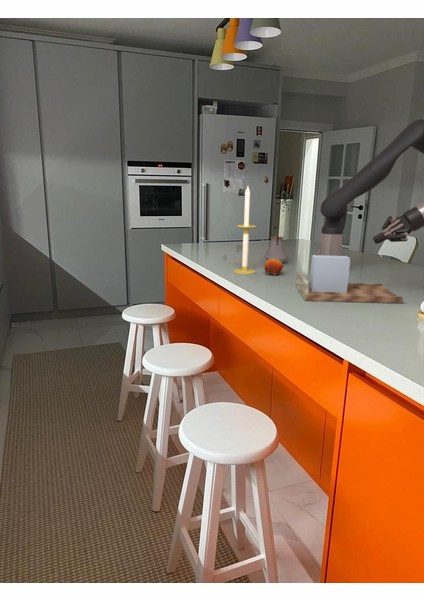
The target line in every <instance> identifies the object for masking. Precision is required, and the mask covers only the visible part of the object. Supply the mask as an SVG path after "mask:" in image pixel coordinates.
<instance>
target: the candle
mask: <svg viewBox="0 0 424 600" xmlns="http://www.w3.org/2000/svg"><path fill="white" fill-rule="evenodd" d="M244 192H245V193H244V210H243V211H244V212H243V213H244V216H243V217H244V218H243V224H238V225H237V224H236V227H237V228H243V230H242V231H243V233H242V255H241V256H242V257H241V268H238V269H237V268H236V269H234V270H233V271H232V272H233V273H235V274H238V275H252V274H256V271H255V270H254V269H250V268H249V267H248V265H249V264H248V263H249V241H250V240H249V239H250V228H254V229H255V228H256V227H257V226H256V225H253V224H250V210H251V209H250V206H251V205H250V204H251V190H250V187H249V185H247V187H246V189H245V191H244Z"/></svg>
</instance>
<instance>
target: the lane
mask: <svg viewBox="0 0 424 600" xmlns="http://www.w3.org/2000/svg"><path fill="white" fill-rule="evenodd" d="M295 288H296V289H297V291H298V292H299V294H300V295H301V297H302V299H303V300H304V301H305V302H324V303H325V302H327V303H328V302H329V303H331V302H332V303H334V302H335V303H361V304H363V303H364V304H365V303H366V304H368V303H369V304H396V305H397V304H399V305H402V304H403V298H404V297H403V296H400V295H397V293H394V292H392V291H391V290H389V289H388V288H386V287H385V286H384V285H383V283H365V282H364V283H360V282H357V283H355V282H353V283H352V282H348V286H347V292H314V291H311V289H310V281H308V279H307V278H306V277H305V275H304V274H302V272H301V271H297V274H296V281H295Z"/></svg>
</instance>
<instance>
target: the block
mask: <svg viewBox="0 0 424 600" xmlns="http://www.w3.org/2000/svg"><path fill="white" fill-rule="evenodd" d="M350 265H351V258H350V257H349V256H347V255H341V256H325V255H318V254H317V255H316V254H312V255H311V266H310V278H309V282H310V289H311V291H314V292H347V286H348V283H349V273H350Z"/></svg>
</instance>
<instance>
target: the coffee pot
mask: <svg viewBox="0 0 424 600" xmlns="http://www.w3.org/2000/svg"><path fill="white" fill-rule="evenodd" d="M269 237H270V241H271V242H270V244H269V246H268V249H267V251H266V252H265V255H264V259H265V261H267V260H269V259H277V260H279V261H281V262H282V264H283V265H284V263H285V262H286V261H287V260H288V254H287V252H286V249H285V246H284V243H283V240H284V236H279V235H277V236H269Z"/></svg>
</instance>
